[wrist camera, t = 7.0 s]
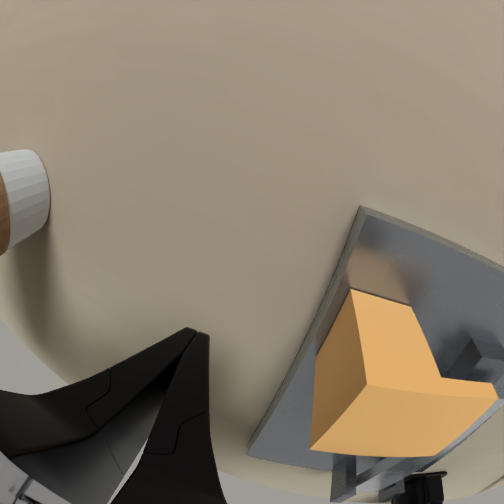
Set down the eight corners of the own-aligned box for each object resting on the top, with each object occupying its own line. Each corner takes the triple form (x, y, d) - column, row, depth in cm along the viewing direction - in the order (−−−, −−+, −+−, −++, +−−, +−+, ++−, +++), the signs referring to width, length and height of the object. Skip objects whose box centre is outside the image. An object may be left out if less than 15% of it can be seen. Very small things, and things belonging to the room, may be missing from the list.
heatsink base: (420, 460, 18) (425, 499, 13) (249, 441, 19) (235, 490, 15) (559, 299, 9) (593, 338, 5) (360, 205, 11) (391, 251, 6)
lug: (415, 378, 12) (434, 456, 7) (315, 357, 12) (309, 449, 8) (457, 320, 10) (498, 397, 6) (350, 288, 11) (367, 384, 6)
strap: (376, 482, 15) (376, 491, 14) (346, 481, 15) (345, 491, 15) (503, 385, 9) (508, 398, 8) (473, 383, 9) (478, 398, 8)
